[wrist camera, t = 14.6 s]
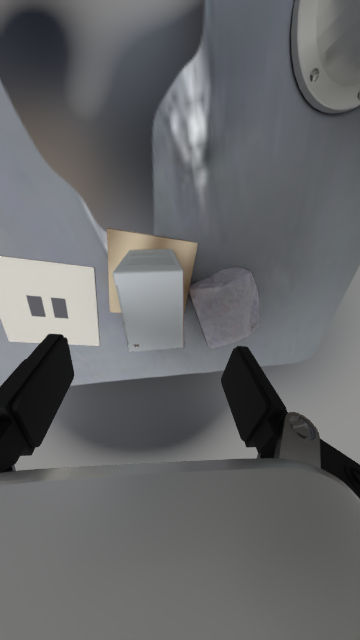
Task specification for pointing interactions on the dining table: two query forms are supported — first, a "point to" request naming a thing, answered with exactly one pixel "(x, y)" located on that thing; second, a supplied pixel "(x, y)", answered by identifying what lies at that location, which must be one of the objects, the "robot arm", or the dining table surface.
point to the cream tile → (48, 301)
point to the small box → (151, 299)
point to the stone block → (226, 306)
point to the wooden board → (129, 240)
